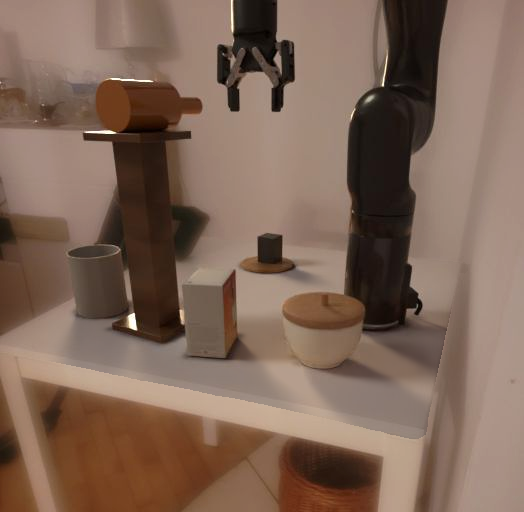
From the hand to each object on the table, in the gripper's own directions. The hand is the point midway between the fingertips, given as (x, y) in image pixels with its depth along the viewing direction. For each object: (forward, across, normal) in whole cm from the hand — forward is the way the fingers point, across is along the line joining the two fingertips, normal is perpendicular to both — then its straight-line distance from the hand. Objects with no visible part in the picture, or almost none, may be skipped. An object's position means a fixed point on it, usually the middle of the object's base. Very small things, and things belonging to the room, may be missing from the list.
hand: (255, 111), depth 86 cm
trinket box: (+30, +27, -27) cm, 48 cm away
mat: (+30, -2, +7) cm, 31 cm away
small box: (+30, +12, -31) cm, 45 cm away
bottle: (+2, -1, -25) cm, 25 cm away
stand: (+30, 0, -29) cm, 42 cm away
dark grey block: (+27, -2, +9) cm, 28 cm away
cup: (+30, -13, -29) cm, 44 cm away
